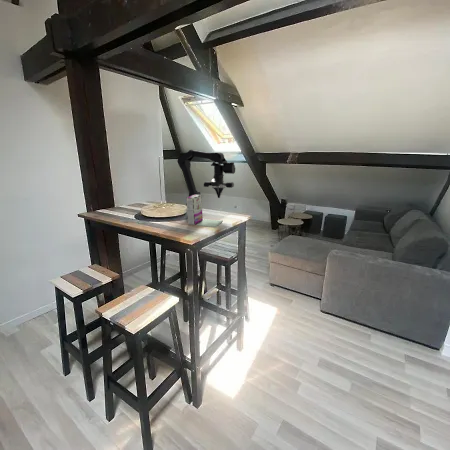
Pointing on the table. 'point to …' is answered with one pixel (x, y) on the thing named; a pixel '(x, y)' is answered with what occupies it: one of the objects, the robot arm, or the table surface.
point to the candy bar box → (194, 209)
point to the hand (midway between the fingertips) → (219, 197)
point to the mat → (209, 223)
